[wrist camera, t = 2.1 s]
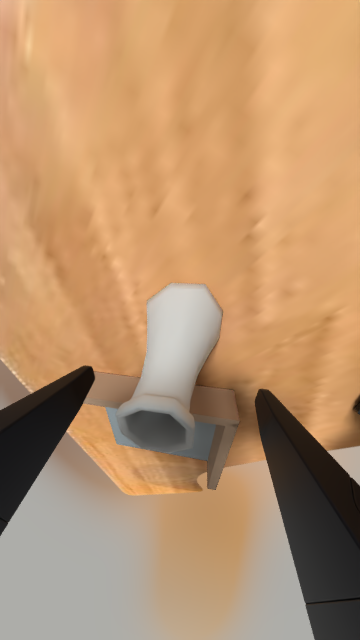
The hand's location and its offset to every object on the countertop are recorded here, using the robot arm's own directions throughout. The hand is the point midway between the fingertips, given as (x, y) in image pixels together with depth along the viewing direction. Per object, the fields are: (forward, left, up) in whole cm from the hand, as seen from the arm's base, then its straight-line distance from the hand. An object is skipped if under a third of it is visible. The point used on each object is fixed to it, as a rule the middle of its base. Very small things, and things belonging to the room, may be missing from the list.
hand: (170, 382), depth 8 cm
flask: (0, 0, -8) cm, 8 cm away
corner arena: (+3, +18, -7) cm, 20 cm away
